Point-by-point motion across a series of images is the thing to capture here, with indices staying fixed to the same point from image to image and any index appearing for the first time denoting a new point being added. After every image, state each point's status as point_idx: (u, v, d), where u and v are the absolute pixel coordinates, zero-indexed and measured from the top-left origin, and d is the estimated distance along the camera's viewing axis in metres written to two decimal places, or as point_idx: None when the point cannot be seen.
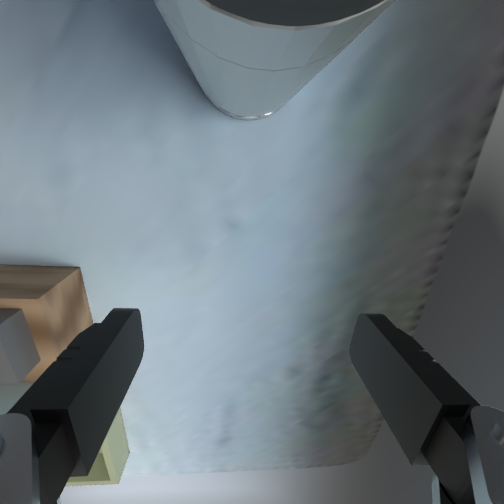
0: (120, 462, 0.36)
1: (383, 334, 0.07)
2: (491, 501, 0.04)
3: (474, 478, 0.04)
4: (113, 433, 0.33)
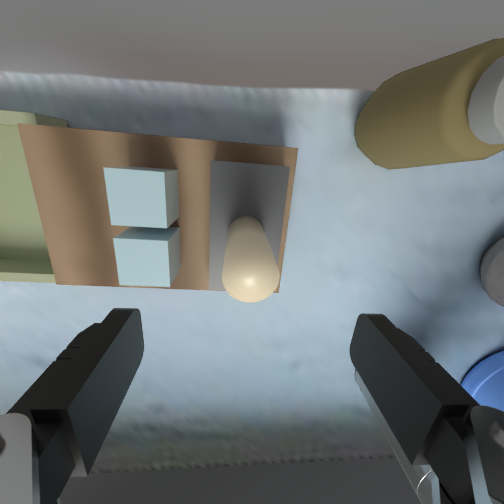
0: None
1: (383, 334, 0.07)
2: (491, 501, 0.04)
3: (474, 478, 0.04)
4: None
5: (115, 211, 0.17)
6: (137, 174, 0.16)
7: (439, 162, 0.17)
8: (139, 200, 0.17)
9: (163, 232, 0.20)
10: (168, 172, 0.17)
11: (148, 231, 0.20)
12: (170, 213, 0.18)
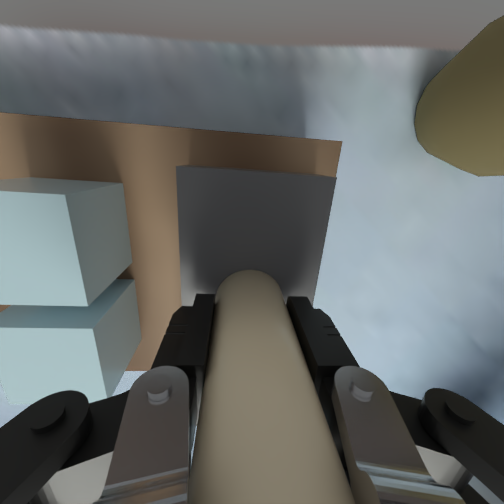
0: None
1: (297, 312, 0.08)
2: (357, 465, 0.04)
3: (343, 443, 0.05)
4: None
5: None
6: (3, 200, 0.07)
7: None
8: (18, 255, 0.08)
9: (97, 298, 0.11)
10: (86, 192, 0.08)
11: None
12: (100, 271, 0.09)
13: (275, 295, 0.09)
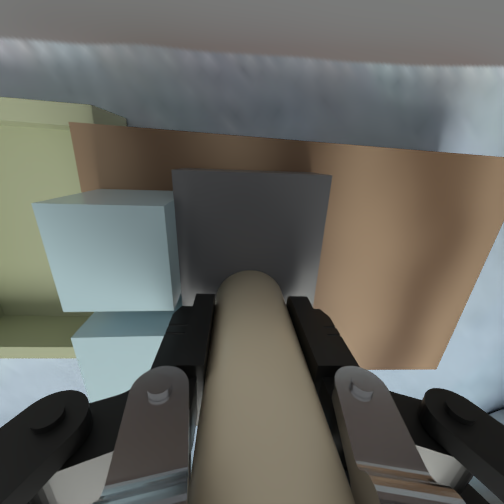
0: None
1: (297, 312, 0.08)
2: (357, 466, 0.04)
3: (343, 443, 0.05)
4: None
5: (68, 287, 0.08)
6: (107, 214, 0.08)
7: None
8: (114, 265, 0.08)
9: None
10: (172, 202, 0.09)
11: None
12: (178, 276, 0.10)
13: (274, 295, 0.09)
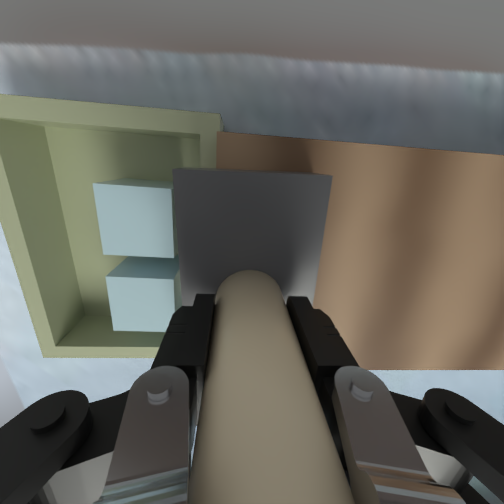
0: None
1: (296, 312, 0.08)
2: (357, 466, 0.04)
3: (343, 443, 0.05)
4: None
5: None
6: None
7: None
8: None
9: (147, 271, 0.15)
10: (114, 186, 0.12)
11: (153, 263, 0.16)
12: (121, 241, 0.14)
13: (274, 295, 0.09)
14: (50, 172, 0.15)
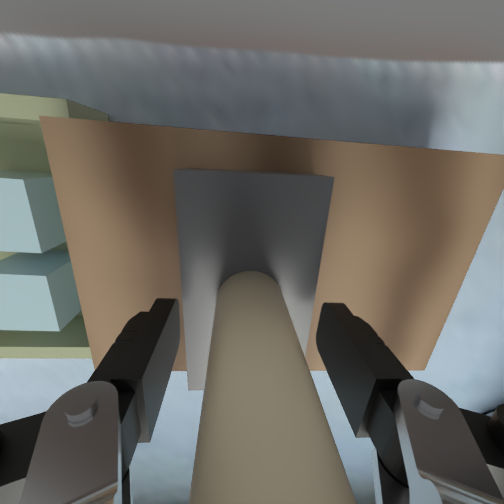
0: None
1: (338, 320, 0.08)
2: (419, 474, 0.04)
3: (404, 452, 0.05)
4: None
5: None
6: None
7: None
8: None
9: (24, 267, 0.15)
10: None
11: (40, 259, 0.16)
12: None
13: (275, 296, 0.09)
14: None
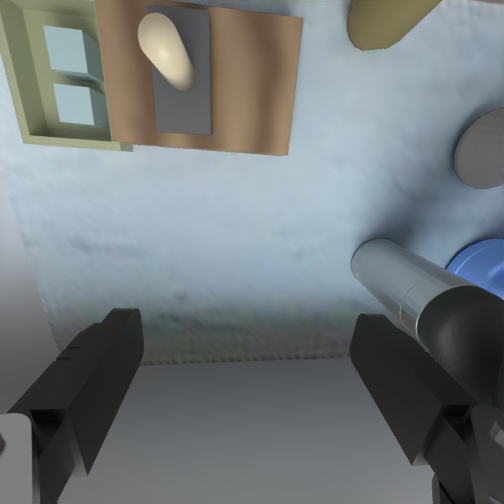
0: None
1: (383, 334, 0.07)
2: (491, 501, 0.04)
3: (474, 478, 0.04)
4: None
5: None
6: None
7: (408, 13, 0.23)
8: None
9: None
10: (54, 27, 0.26)
11: None
12: (59, 60, 0.27)
13: None
14: (26, 35, 0.29)
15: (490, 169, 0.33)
